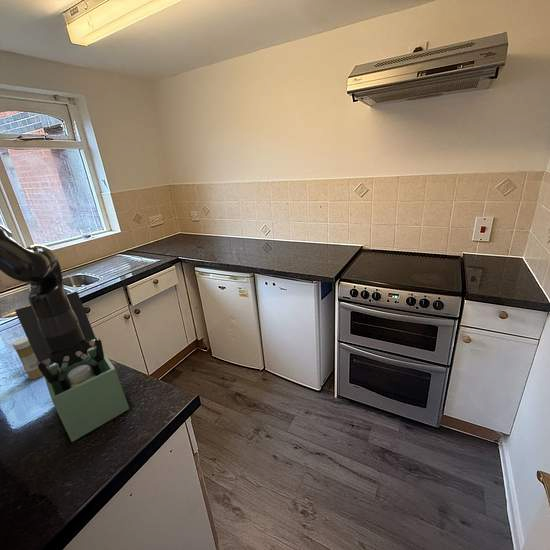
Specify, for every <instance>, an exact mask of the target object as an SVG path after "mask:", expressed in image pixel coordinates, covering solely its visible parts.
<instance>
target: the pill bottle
mask: <svg viewBox="0 0 550 550" xmlns="http://www.w3.org/2000/svg"><path fill="white" fill-rule="evenodd" d="M93 377H95V374H93V373H92V370H91V368H90V366H89V365H82V366H78V367H76V368H74V369H73V370H71V371H70V372H69V373H68V379H69V381H70V385H69V387H70V388H73V387H75V386H77V385H79V384H81V383H83V382H85V381H87V380H89V379H91V378H93Z"/></svg>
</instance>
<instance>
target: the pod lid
mask: <svg viewBox="0 0 550 550" xmlns="http://www.w3.org/2000/svg"><path fill="white" fill-rule="evenodd" d="M66 295H67V297H68V300H69V302H70V305H71V307H72V309H73V311H74V312H75V314H76V317H77V319H78V321H79V325H80V327H81V330H82V333H83V335H84V338H85V339H86V340H87V341H90V340H93V339H94V338H95V337H96V335H95V333H94V330H93V328H92V324H91V323H90V320H89V318H88V315H87V313H86V310H85V307H84V305H83V302H82V300H81V297H80V294H79V291H78V290H75V291H72V292H69V293H66ZM14 312H15V315H16V316H17V319H18V321H19V323H20V325H21V327H22V330H23V332H24V334H25V337H27V338H28V341H29V343H30V345H31V347H32V349H33V352H34V354H35V356H36V358H37V360H44V359H46V358H48V357H49V355H50V352H49V349H48V347H47V345H46V343H45V340H44V338H43V336H42V334H41V332H40V329H39V327H38V323H37V319H36V317H35V314H34V312H33V310H32V307H31V305H30V304H29V305H26V306H23V307H19V308H16V309H14ZM92 348H93V347H92V345H89V348H88V350H90V349H92ZM55 364H56V363H55V362H52V361H51V362H50V366H52V365H55Z"/></svg>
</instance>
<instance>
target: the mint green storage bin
mask: <svg viewBox="0 0 550 550" xmlns="http://www.w3.org/2000/svg"><path fill="white" fill-rule="evenodd" d="M87 353H88V354H89V355H91V356H92V357H95V356H97V354H96V349H95V348H93V347H92V348H89V349H88V351H87ZM82 365H89V366H90V368H91V370H92V373H93V374H94V371H93V369H92V366H91V364H90V363H89V362H86V361H85V360H82V361H80V362H77V363H74V364H73V365H71V366H69V367H68V366H67V371H66V373H65V378H66V380H67V383H68V385H70V381H69V379H68V373H69V372H70V371H71V370H73V369H74V368H76V367H78V366H82ZM98 365H99V368H100V371H101V374H99V375H98V376H95V377H93V378H91V379H89V380H87V381H85V382H83V383H81V384H79V385H77V386H75V387H73V388H70V389H68V390H66V391H64V390H63V389H62V387H61V384H60V382H58V381H56V382H54V383H49V382H48V381H47V379H46V378H45V376H44V375H43V377H44V381H45V384H46V387H47V390H48V393H49V396H50V399H51V402H52V404H53V405H54V407H55V410H56V412H57V414H58V416H59V418H60V420H61V423H62V425H63V427H64V430H65V431H66V433H67V436H68V437H69V439H70V442H71V443H74V442H75V441H77V440H78V439H80V438H82V437H84V436H85V435H88V433H90V432H92V431H93V430H94V431H95V430H96V429H97V428H99V427H101V426H102V425H104V424H106V423H107V422H109V421H111V420H113V419H114V418H116V417H118V416H120V415H121V414H124V412H126V411H128V410H130V406H129V404H128V400H127V398H126V395H125V392H124V390H123V387H122V383H121V381H120V378H119V375H118V372H117V369H116V368H115V366H114V365H113V363H112V362H111V361H110V360H109V358H108V357H107V355H106V354H105V353H104V359H103V360H101V361H100V362H99V363H98ZM48 369H49V370H50V372H51V373H52V375H54V374H57V371H58V364H57V363H54V364H51V365H50V367H49V368H48Z"/></svg>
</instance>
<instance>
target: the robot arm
mask: <svg viewBox="0 0 550 550" xmlns="http://www.w3.org/2000/svg"><path fill="white" fill-rule="evenodd" d="M13 237H14V235H13V233H12V232H11V230H9V229H8V228H6V227H5V226H3V225H2V224H0V271H1V272H2V273H3V274H5V275H6V276H8V277H9V278H11V279H12V280H15V281H18V282H21V283H24V284H30V291H29V294H28V303H29V305H31V307H32V310H33V312H34V314H35V317H36V319H37V323H38V327H39V329H40V332H41V334H42V336H43V338H44V340H45V343H46V345H47V347H48V349H49V352H50V355H49V357H48V358H46V359H44V360H38V361H37V366H38V368H39V370H40V371H41V372H42V374H43V375H42V376H43V377H44V376H45V378H46V379H47V381H48V382H49V383H54V382H56V381H58V382H60V384H61V387H62V389H63V390H64V391H66V390H68V389H70V387H69V385H68V383H67V380H66V378H65V373H66V371H67V366H68V367H69V366H71V365H73V364H74V363H77V362H80V361H82V360H85V361H86V362H89V363H90V364H91V366H92V369H93V371H94V374H95V376H98V375H99V374H101V371H100V368H99V365H98V363H99V362H100V361H101V360H103V359H104V354H105V352H104V349H103V343H102V340H101V339H100V337H99V336H95V338H94V339H93V340H90V341H87V340H86V339H85V338H84V335H83V333H82V330H81V327H80V325H79V321H78V319H77V317H76V314H75V312H74V311H73V309H72V307H71V305H70V302H69V300H68V297H67V295H66V294H67V292H66V290H65V286H64V277H63V272H62V267H61V263H60V260H59V258H58V256H57V254H56V253H55V252H54V251H53V250H52V249H51V248H50V247H48V246H46V245H42V244H32V245H30V246H27V247H24V246H22V245H21V244H19V243H18V242H16V241H15V240H14V239H13ZM89 345H92V348H95V349H96V354H97V356H95V357H92V356H91V355H89V354H88V353H87V351H88V350H89V349H90V348H89ZM88 348H89V349H88ZM51 361H52V362H55V363H54V364H58V371H57V374H54V375H52V373H51V372H50V370H49V369H48V368H49V367H50V366H51V365H50V362H51ZM45 378H44V379H45Z"/></svg>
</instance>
